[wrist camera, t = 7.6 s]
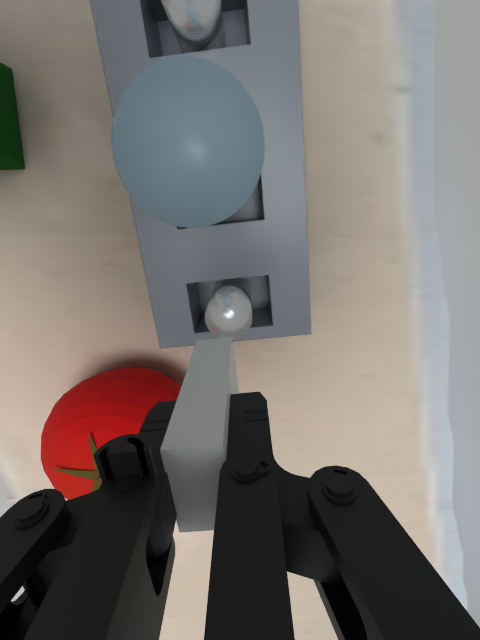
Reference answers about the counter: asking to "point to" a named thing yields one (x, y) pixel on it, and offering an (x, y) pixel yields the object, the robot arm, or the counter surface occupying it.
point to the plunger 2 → (229, 309)
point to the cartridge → (188, 142)
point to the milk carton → (9, 124)
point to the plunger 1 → (196, 24)
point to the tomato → (97, 423)
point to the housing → (269, 194)
